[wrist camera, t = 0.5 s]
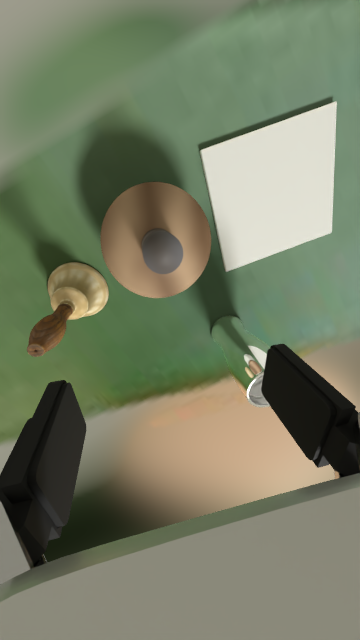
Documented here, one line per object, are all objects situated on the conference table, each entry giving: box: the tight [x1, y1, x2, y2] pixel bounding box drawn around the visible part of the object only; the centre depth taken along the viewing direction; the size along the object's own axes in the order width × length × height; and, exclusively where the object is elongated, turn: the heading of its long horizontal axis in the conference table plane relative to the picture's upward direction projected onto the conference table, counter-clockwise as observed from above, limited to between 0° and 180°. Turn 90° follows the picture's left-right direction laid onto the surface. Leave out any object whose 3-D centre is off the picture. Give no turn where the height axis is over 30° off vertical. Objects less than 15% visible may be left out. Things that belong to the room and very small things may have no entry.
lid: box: [101, 182, 211, 298], centre depth 24 cm, size 13×13×6 cm
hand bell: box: [27, 262, 109, 357], centre depth 25 cm, size 8×8×16 cm
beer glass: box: [211, 315, 270, 407], centre depth 34 cm, size 7×7×15 cm
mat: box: [200, 101, 337, 272], centre depth 31 cm, size 18×16×1 cm
